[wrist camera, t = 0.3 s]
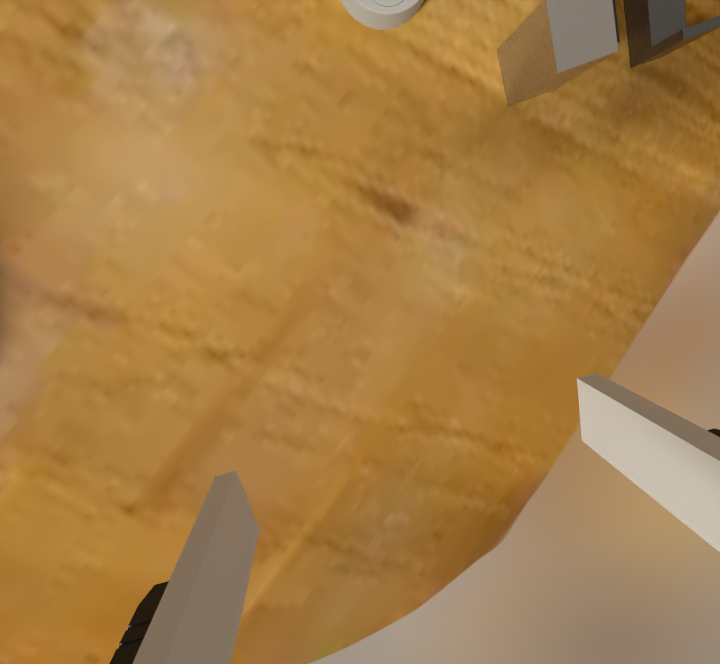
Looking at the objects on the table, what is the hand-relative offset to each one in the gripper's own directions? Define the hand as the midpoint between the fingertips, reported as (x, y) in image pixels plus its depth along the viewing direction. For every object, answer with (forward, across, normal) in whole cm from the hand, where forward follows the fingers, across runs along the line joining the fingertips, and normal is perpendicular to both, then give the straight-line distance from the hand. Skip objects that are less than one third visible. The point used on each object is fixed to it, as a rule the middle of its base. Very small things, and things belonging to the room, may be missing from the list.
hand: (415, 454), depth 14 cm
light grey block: (+27, +22, +18) cm, 40 cm away
